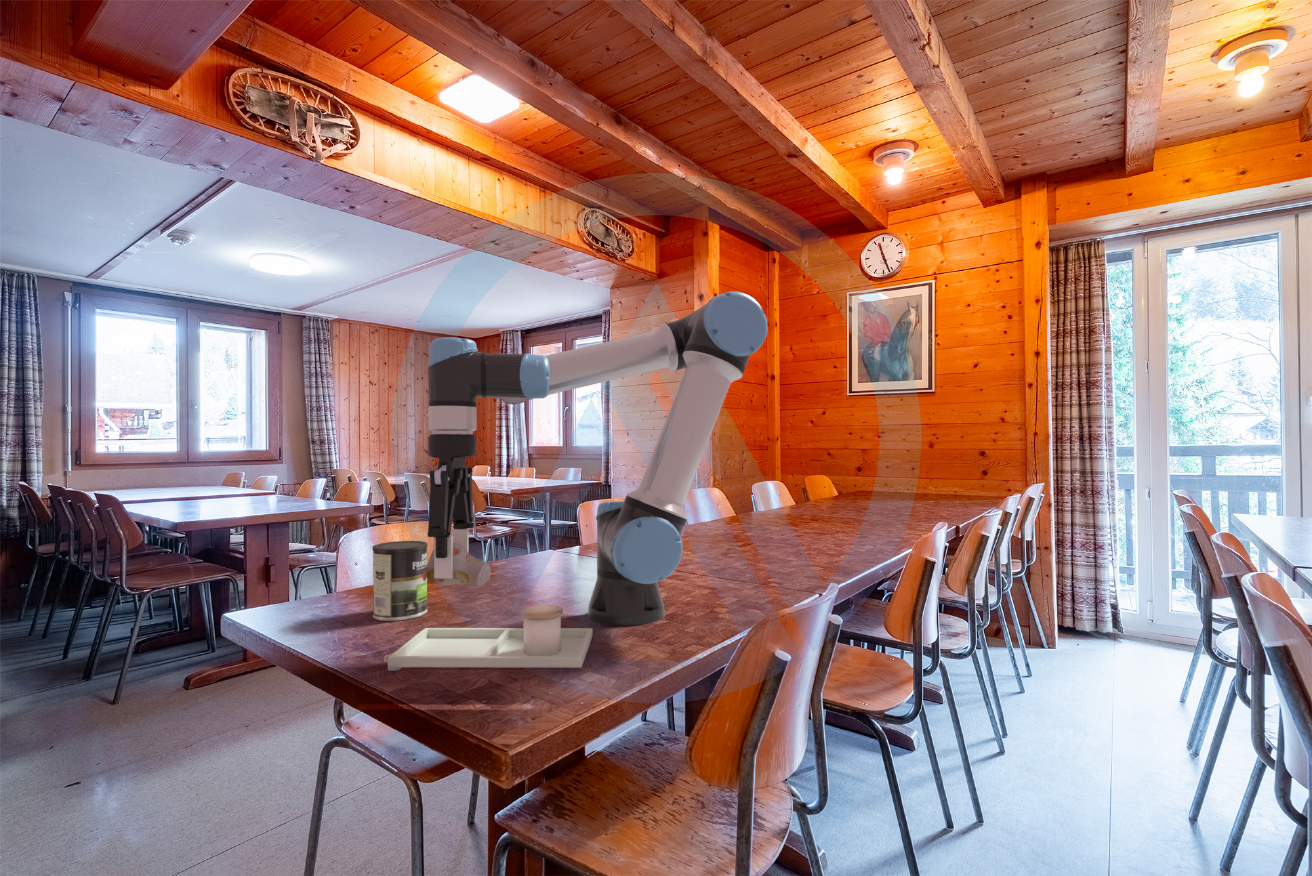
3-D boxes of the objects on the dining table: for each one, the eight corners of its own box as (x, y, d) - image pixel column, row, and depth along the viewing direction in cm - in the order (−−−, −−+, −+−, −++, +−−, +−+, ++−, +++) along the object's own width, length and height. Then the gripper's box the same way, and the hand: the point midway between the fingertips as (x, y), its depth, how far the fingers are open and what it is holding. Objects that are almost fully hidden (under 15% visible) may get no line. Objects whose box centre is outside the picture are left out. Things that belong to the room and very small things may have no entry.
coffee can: (435, 607, 128) (435, 540, 128) (415, 621, 117) (415, 549, 117) (386, 606, 128) (386, 540, 128) (362, 621, 117) (362, 549, 117)
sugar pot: (565, 643, 102) (565, 604, 102) (559, 657, 96) (559, 616, 96) (526, 643, 102) (526, 604, 102) (517, 657, 96) (517, 616, 96)
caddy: (592, 639, 106) (592, 628, 106) (581, 671, 92) (581, 658, 92) (425, 639, 107) (425, 627, 107) (387, 670, 92) (387, 657, 92)
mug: (486, 592, 95) (454, 539, 94) (439, 614, 98) (406, 562, 96) (506, 570, 102) (475, 520, 101) (461, 591, 105) (431, 543, 103)
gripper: (451, 433, 109) (450, 560, 109) (403, 432, 89) (403, 587, 89) (492, 433, 109) (491, 560, 109) (454, 432, 89) (453, 587, 89)
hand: (452, 572), depth 99 cm, fingers closed on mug, 7 cm apart
